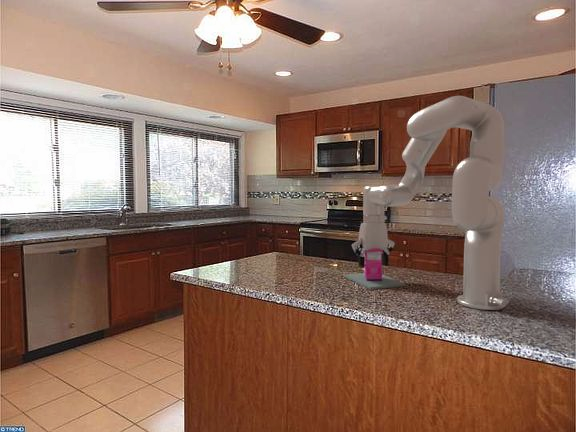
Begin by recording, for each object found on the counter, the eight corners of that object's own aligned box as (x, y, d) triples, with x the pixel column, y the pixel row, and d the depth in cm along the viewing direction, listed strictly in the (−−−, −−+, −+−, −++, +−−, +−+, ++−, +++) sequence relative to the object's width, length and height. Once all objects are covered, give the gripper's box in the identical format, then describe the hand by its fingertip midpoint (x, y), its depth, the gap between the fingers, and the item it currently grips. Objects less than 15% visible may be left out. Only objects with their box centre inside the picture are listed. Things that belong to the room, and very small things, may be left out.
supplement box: (363, 277, 144) (363, 246, 143) (379, 277, 143) (379, 247, 142) (365, 280, 138) (365, 249, 137) (382, 281, 138) (382, 249, 137)
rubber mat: (405, 285, 134) (405, 283, 134) (370, 289, 129) (370, 287, 129) (375, 273, 153) (375, 271, 153) (343, 276, 148) (343, 274, 148)
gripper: (388, 218, 146) (387, 262, 147) (347, 219, 140) (347, 265, 141) (400, 219, 139) (399, 266, 140) (357, 221, 133) (357, 269, 134)
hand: (373, 266), depth 141 cm, fingers open, 9 cm apart
